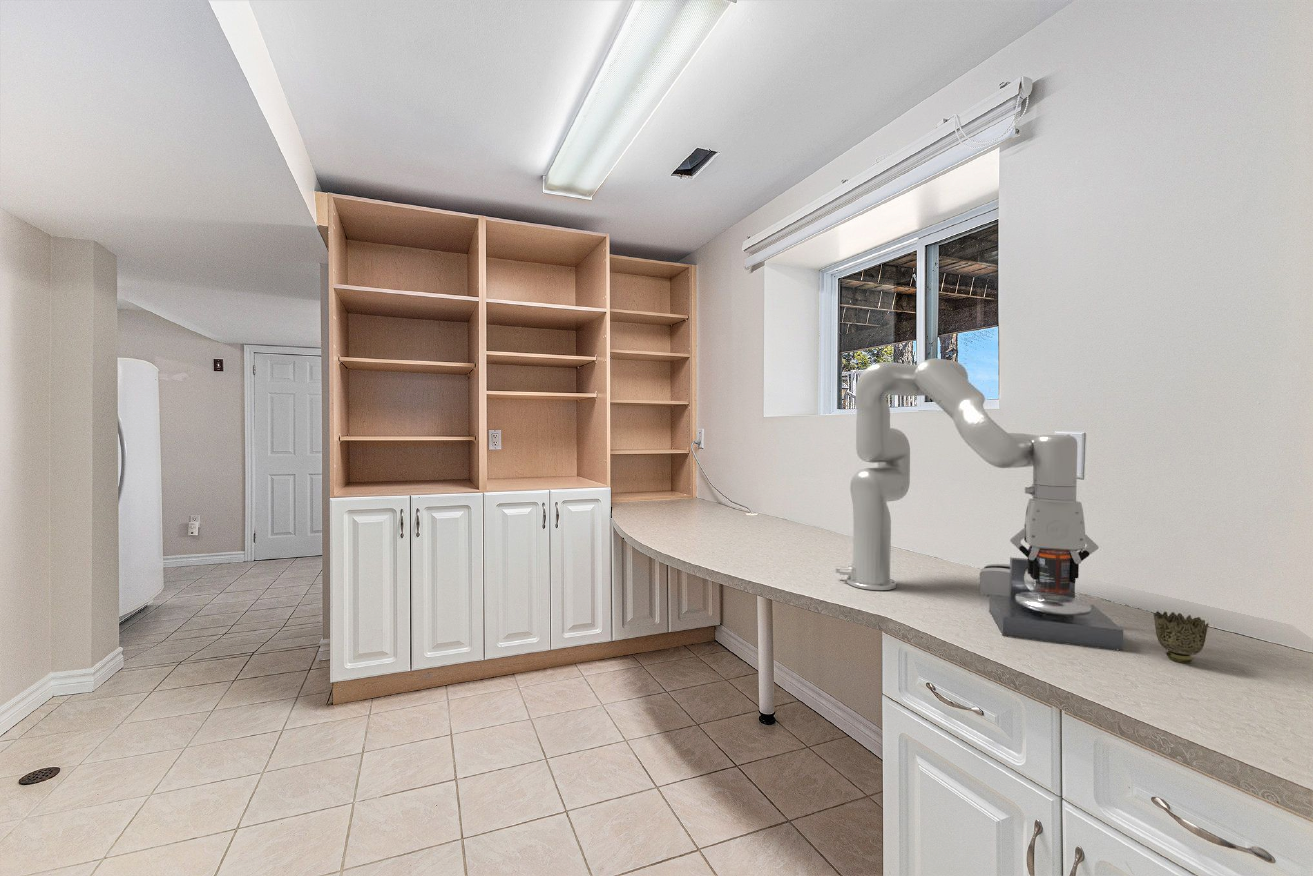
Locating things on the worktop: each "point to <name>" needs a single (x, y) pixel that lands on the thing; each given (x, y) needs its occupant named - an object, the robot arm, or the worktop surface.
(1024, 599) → the dial scale
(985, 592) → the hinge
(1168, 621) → the cup
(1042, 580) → the supplement bottle
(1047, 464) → the robot arm
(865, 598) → the worktop surface
